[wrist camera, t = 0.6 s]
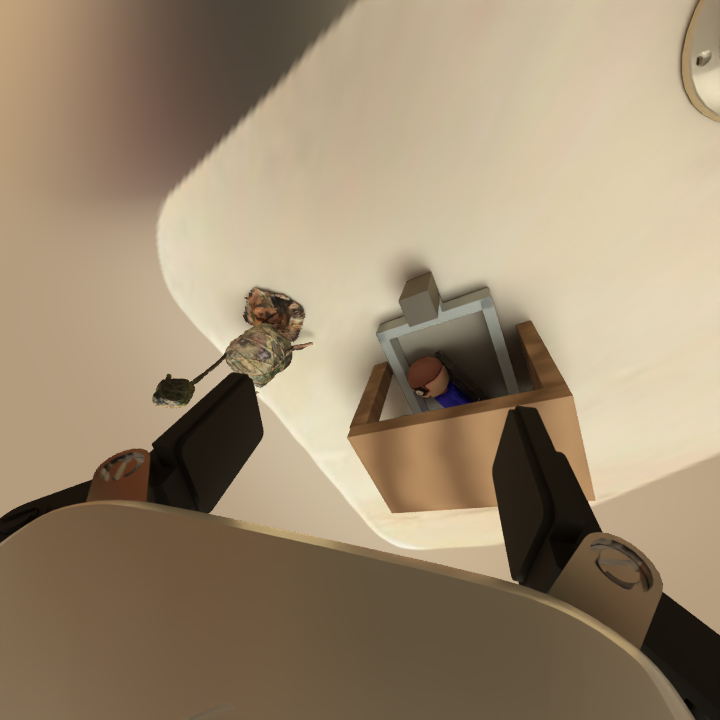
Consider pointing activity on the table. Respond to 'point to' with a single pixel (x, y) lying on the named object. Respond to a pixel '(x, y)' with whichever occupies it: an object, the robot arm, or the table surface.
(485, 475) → the small wooden table
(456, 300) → the sled
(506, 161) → the table surface
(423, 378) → the character figurine
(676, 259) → the table surface
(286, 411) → the table surface
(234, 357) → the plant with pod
